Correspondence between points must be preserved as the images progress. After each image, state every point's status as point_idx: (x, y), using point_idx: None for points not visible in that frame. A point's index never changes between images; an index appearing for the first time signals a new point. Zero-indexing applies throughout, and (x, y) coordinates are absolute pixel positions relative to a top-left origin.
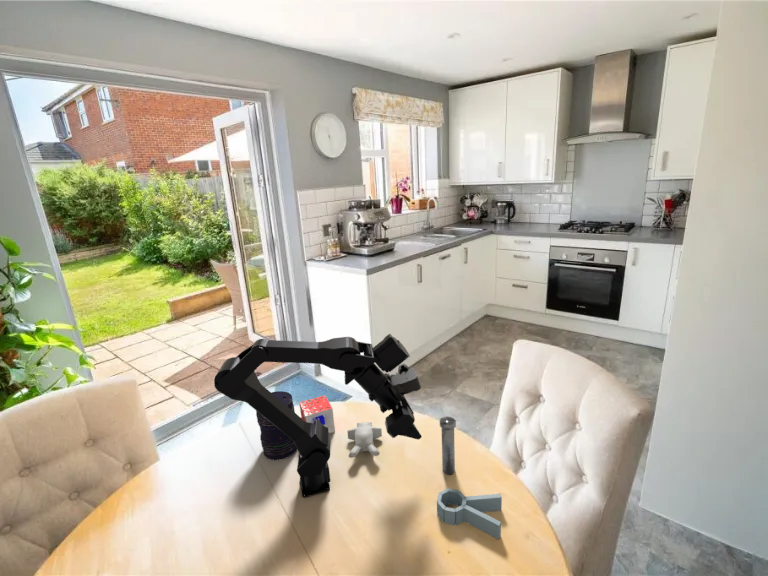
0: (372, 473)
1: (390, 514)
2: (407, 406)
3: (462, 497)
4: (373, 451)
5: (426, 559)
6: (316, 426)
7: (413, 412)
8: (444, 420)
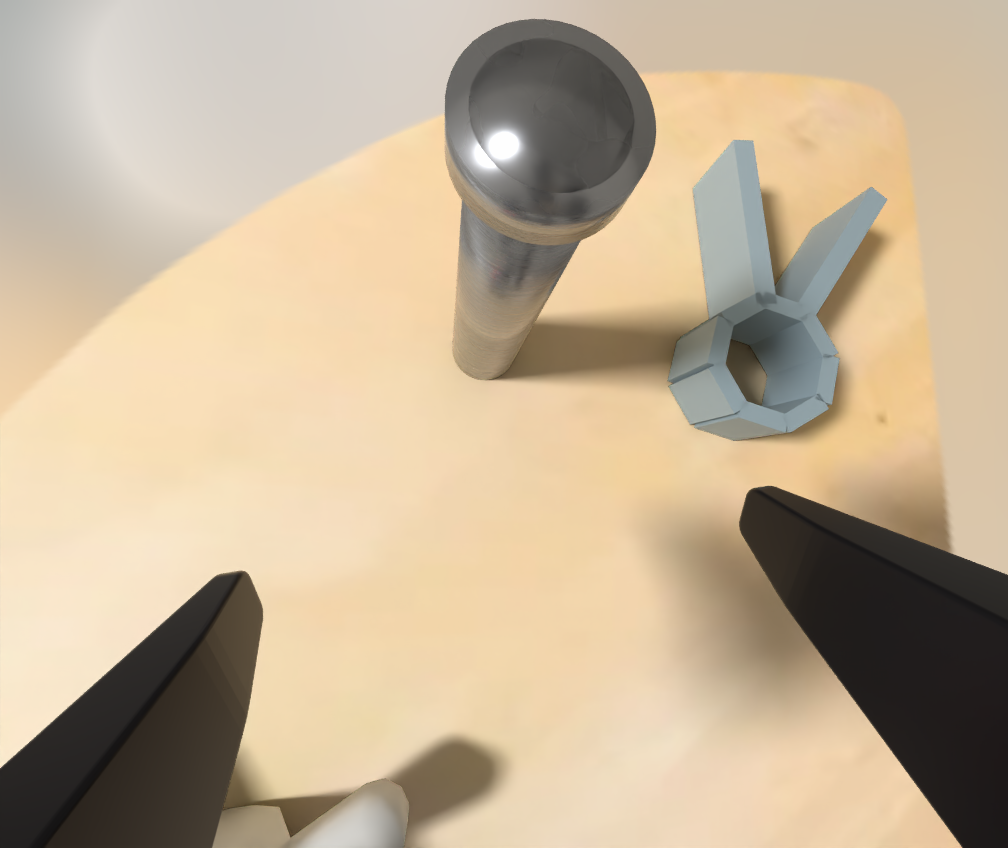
0: (482, 778)
1: (741, 651)
2: (154, 753)
3: (762, 308)
4: (389, 845)
5: (914, 503)
6: None
7: (223, 576)
8: (533, 149)
